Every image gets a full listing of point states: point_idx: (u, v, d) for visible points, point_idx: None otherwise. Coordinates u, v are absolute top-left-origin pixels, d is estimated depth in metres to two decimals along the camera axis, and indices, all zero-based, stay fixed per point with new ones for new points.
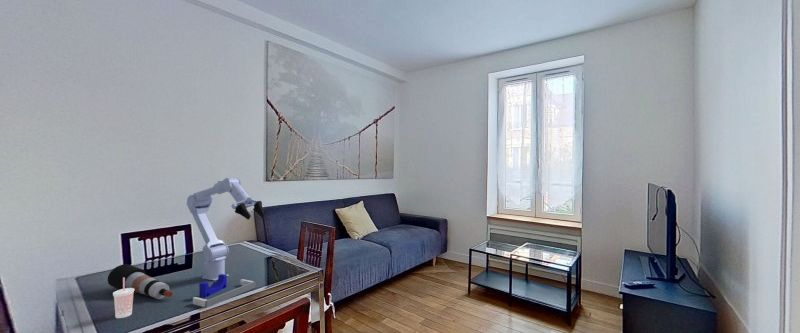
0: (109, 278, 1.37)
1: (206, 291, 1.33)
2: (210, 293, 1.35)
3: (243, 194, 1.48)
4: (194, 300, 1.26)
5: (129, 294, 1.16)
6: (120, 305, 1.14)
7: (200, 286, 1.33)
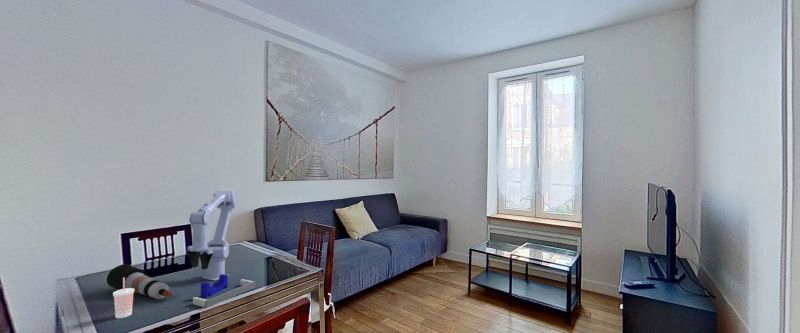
0: (108, 278, 1.37)
1: (207, 291, 1.33)
2: (211, 293, 1.35)
3: (192, 241, 1.40)
4: (194, 300, 1.26)
5: (129, 294, 1.16)
6: (120, 305, 1.14)
7: (201, 286, 1.32)
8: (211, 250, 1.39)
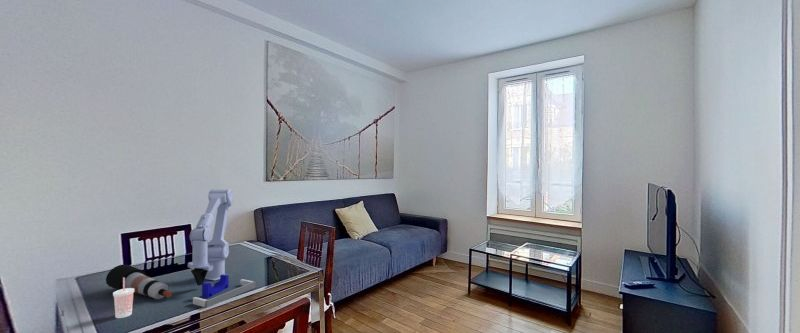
0: (107, 278, 1.37)
1: (209, 291, 1.32)
2: (213, 293, 1.34)
3: (193, 258, 1.40)
4: (194, 300, 1.26)
5: (129, 294, 1.16)
6: (120, 305, 1.14)
7: (203, 286, 1.32)
8: (211, 267, 1.39)
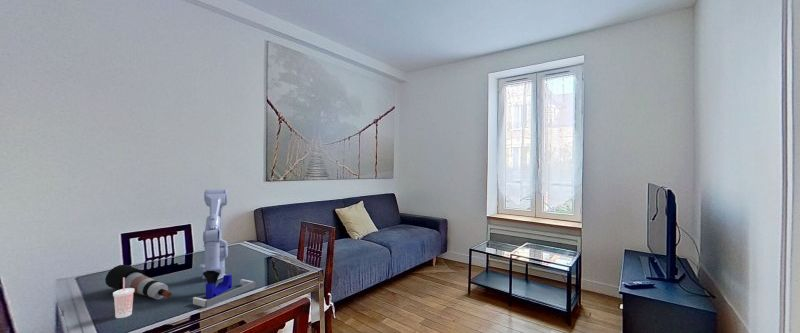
0: (107, 279, 1.37)
1: (213, 292, 1.32)
2: (216, 294, 1.34)
3: (205, 260, 1.36)
4: (194, 300, 1.26)
5: (129, 294, 1.16)
6: (120, 305, 1.14)
7: (206, 287, 1.32)
8: (224, 269, 1.36)
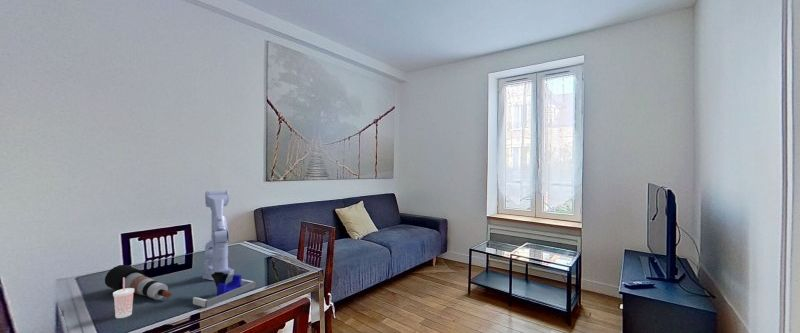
0: (106, 279, 1.36)
1: (224, 292, 1.31)
2: None
3: (213, 262, 1.34)
4: (194, 300, 1.26)
5: (129, 294, 1.16)
6: (120, 305, 1.14)
7: (218, 287, 1.31)
8: (232, 271, 1.34)
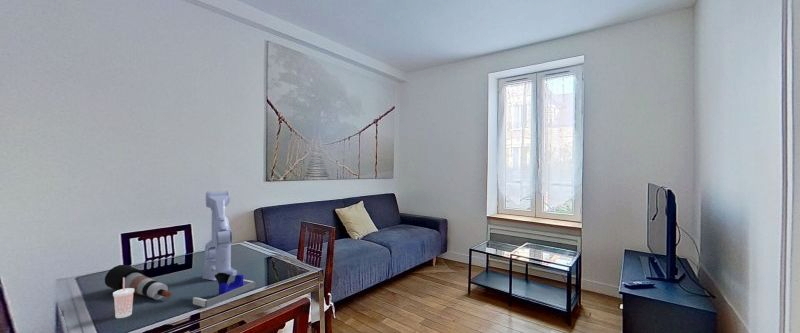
0: (106, 279, 1.36)
1: None
2: None
3: (216, 262, 1.34)
4: (194, 300, 1.26)
5: (129, 294, 1.16)
6: (120, 305, 1.14)
7: (220, 287, 1.31)
8: (235, 272, 1.33)
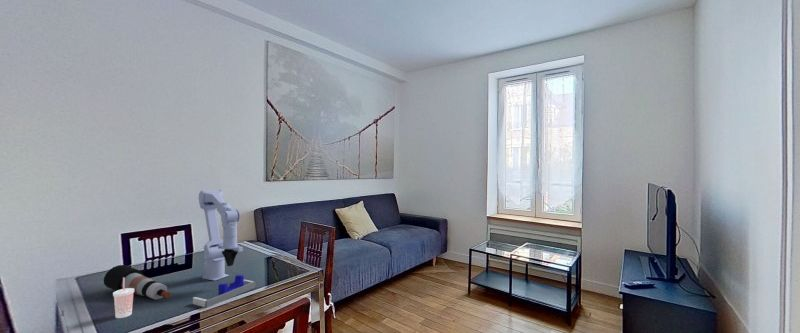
0: (105, 279, 1.36)
1: (225, 292, 1.31)
2: None
3: (223, 240, 1.44)
4: (194, 300, 1.26)
5: (129, 294, 1.16)
6: (120, 305, 1.14)
7: (219, 287, 1.31)
8: (241, 248, 1.43)
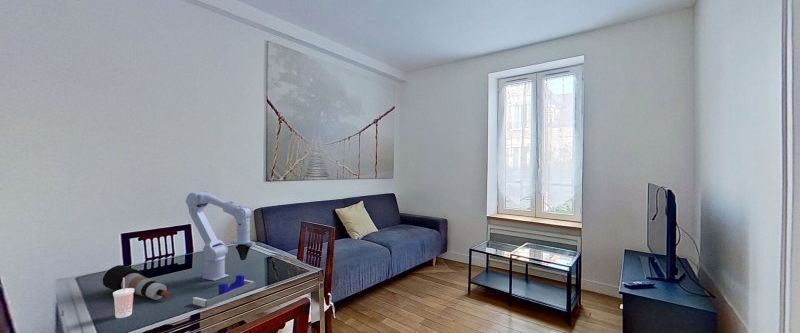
0: (104, 279, 1.36)
1: None
2: None
3: (237, 235, 1.52)
4: (194, 300, 1.26)
5: (129, 294, 1.16)
6: (120, 305, 1.14)
7: (219, 287, 1.31)
8: (254, 243, 1.52)
